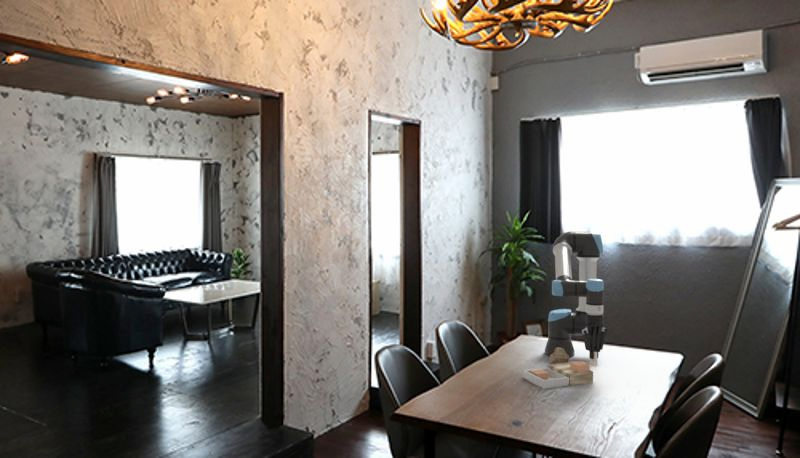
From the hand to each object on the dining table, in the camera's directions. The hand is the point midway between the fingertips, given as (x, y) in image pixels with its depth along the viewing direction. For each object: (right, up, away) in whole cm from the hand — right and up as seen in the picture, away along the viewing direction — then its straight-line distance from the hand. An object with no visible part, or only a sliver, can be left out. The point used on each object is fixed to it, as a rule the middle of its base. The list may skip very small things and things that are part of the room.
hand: (593, 365), depth 259 cm
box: (-22, -6, -3) cm, 24 cm away
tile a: (-25, -3, 0) cm, 25 cm away
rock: (-13, -6, +17) cm, 22 cm away
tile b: (-7, -1, -2) cm, 8 cm away
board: (-10, -6, +1) cm, 12 cm away
